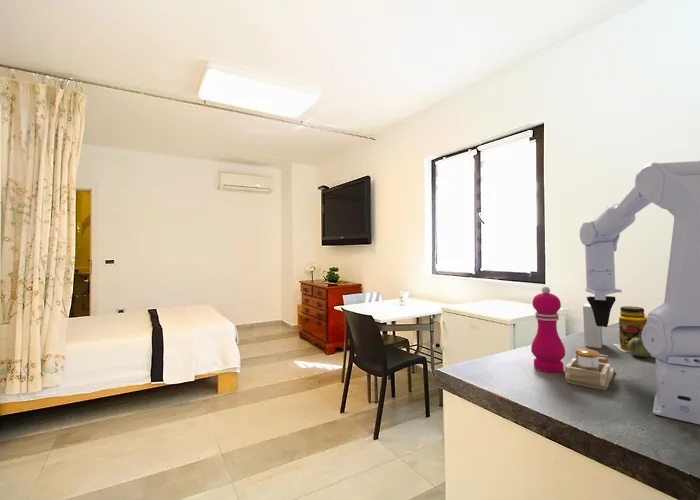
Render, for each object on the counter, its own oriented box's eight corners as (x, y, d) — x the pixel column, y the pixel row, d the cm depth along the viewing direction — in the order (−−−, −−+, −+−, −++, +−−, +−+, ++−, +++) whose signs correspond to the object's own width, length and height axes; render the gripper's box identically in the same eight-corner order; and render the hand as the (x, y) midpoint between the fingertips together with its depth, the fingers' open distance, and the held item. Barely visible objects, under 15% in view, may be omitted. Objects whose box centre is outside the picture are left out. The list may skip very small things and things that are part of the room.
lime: (626, 353, 94) (626, 335, 94) (649, 355, 91) (649, 337, 91) (629, 358, 90) (629, 338, 90) (654, 360, 88) (653, 341, 88)
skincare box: (585, 341, 106) (584, 303, 106) (602, 343, 104) (601, 304, 104) (583, 346, 102) (582, 305, 102) (601, 348, 99) (600, 307, 99)
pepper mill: (531, 371, 82) (529, 287, 82) (531, 362, 88) (529, 285, 89) (567, 375, 79) (564, 288, 79) (564, 366, 85) (561, 285, 85)
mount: (605, 391, 70) (604, 371, 70) (565, 383, 74) (564, 364, 74) (614, 372, 80) (613, 354, 80) (579, 365, 85) (578, 349, 85)
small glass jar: (604, 379, 73) (603, 353, 73) (586, 380, 73) (585, 354, 73) (589, 372, 77) (588, 348, 77) (572, 374, 77) (570, 349, 77)
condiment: (623, 352, 95) (622, 309, 95) (612, 344, 103) (610, 304, 103) (656, 354, 93) (654, 309, 93) (641, 346, 101) (640, 305, 101)
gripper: (621, 272, 76) (623, 334, 76) (620, 269, 88) (621, 322, 87) (583, 272, 80) (585, 330, 80) (586, 269, 92) (588, 319, 92)
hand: (601, 326), depth 84 cm, fingers closed
